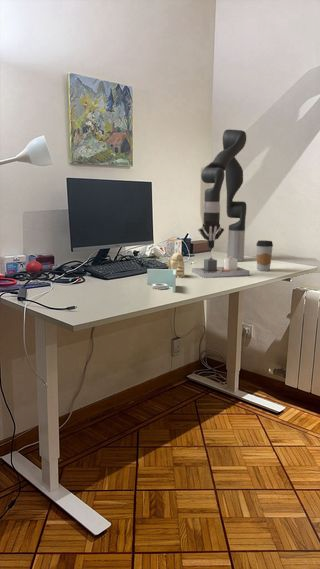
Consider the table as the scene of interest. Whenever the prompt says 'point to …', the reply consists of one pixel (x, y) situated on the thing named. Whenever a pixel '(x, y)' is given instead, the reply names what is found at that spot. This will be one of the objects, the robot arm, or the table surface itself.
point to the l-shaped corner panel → (161, 278)
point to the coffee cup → (264, 255)
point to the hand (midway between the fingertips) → (210, 248)
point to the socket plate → (221, 272)
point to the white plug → (230, 263)
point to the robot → (177, 264)
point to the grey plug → (210, 264)
